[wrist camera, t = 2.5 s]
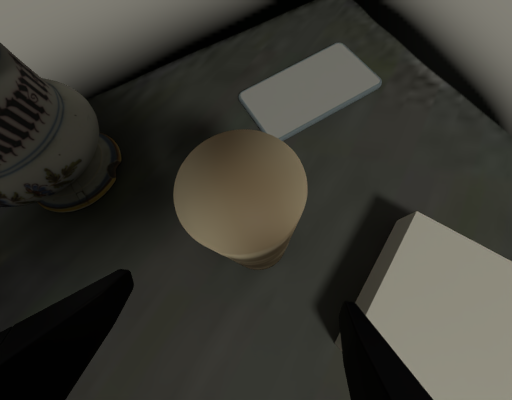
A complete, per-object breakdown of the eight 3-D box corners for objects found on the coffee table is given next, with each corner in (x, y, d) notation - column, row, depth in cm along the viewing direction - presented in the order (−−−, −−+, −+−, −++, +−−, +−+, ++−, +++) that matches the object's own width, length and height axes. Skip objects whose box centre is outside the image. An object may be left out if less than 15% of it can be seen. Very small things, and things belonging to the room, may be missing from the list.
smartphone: (235, 93, 27) (340, 39, 28) (236, 99, 27) (338, 46, 29) (272, 144, 24) (386, 81, 25) (272, 149, 25) (382, 88, 26)
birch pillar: (247, 281, 20) (209, 283, 8) (220, 231, 21) (153, 167, 9) (297, 250, 20) (335, 206, 8) (267, 204, 22) (262, 110, 10)
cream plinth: (498, 464, 15) (550, 507, 12) (334, 343, 18) (346, 355, 15) (544, 301, 18) (595, 305, 15) (396, 220, 21) (416, 211, 18)
